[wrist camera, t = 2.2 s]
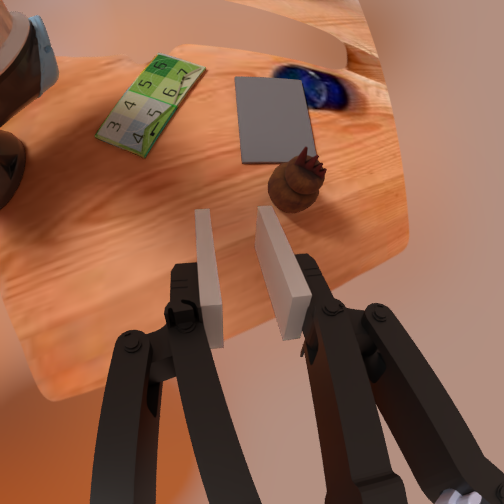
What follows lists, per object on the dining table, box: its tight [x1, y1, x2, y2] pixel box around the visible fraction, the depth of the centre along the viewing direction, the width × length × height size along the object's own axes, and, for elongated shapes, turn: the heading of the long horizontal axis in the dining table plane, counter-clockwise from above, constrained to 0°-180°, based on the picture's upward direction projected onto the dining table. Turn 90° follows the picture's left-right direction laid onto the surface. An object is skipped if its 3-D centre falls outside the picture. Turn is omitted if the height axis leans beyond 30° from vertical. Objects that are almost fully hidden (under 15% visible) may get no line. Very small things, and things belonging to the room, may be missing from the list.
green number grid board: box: [95, 53, 206, 158], centre depth 43 cm, size 20×1×10 cm
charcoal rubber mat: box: [235, 77, 316, 164], centre depth 46 cm, size 17×12×1 cm
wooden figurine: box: [268, 146, 327, 213], centre depth 37 cm, size 7×6×15 cm
